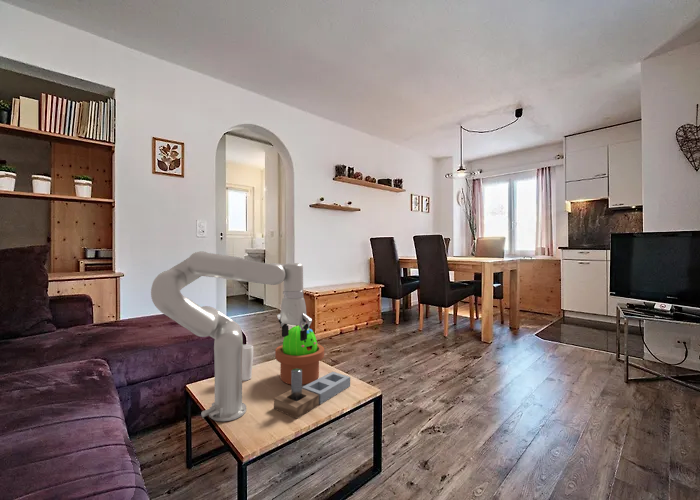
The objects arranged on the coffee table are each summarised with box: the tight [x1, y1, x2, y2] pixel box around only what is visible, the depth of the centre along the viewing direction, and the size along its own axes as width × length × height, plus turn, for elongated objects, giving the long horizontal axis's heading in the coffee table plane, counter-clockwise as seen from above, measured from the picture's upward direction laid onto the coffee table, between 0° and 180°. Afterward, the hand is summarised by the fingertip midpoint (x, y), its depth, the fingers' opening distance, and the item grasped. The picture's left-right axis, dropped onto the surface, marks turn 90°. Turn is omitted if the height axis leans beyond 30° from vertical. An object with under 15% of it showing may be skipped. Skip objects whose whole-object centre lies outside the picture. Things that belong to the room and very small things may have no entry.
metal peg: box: [290, 369, 303, 402], centre depth 122 cm, size 4×4×14 cm
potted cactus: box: [274, 324, 325, 386], centre depth 149 cm, size 22×22×25 cm
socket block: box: [273, 389, 320, 420], centre depth 122 cm, size 12×12×4 cm
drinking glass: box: [242, 343, 254, 382], centre depth 147 cm, size 7×7×15 cm
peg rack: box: [302, 371, 351, 405], centre depth 136 cm, size 20×10×4 cm, turn 144°
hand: (294, 338), depth 125 cm, fingers open, 9 cm apart
